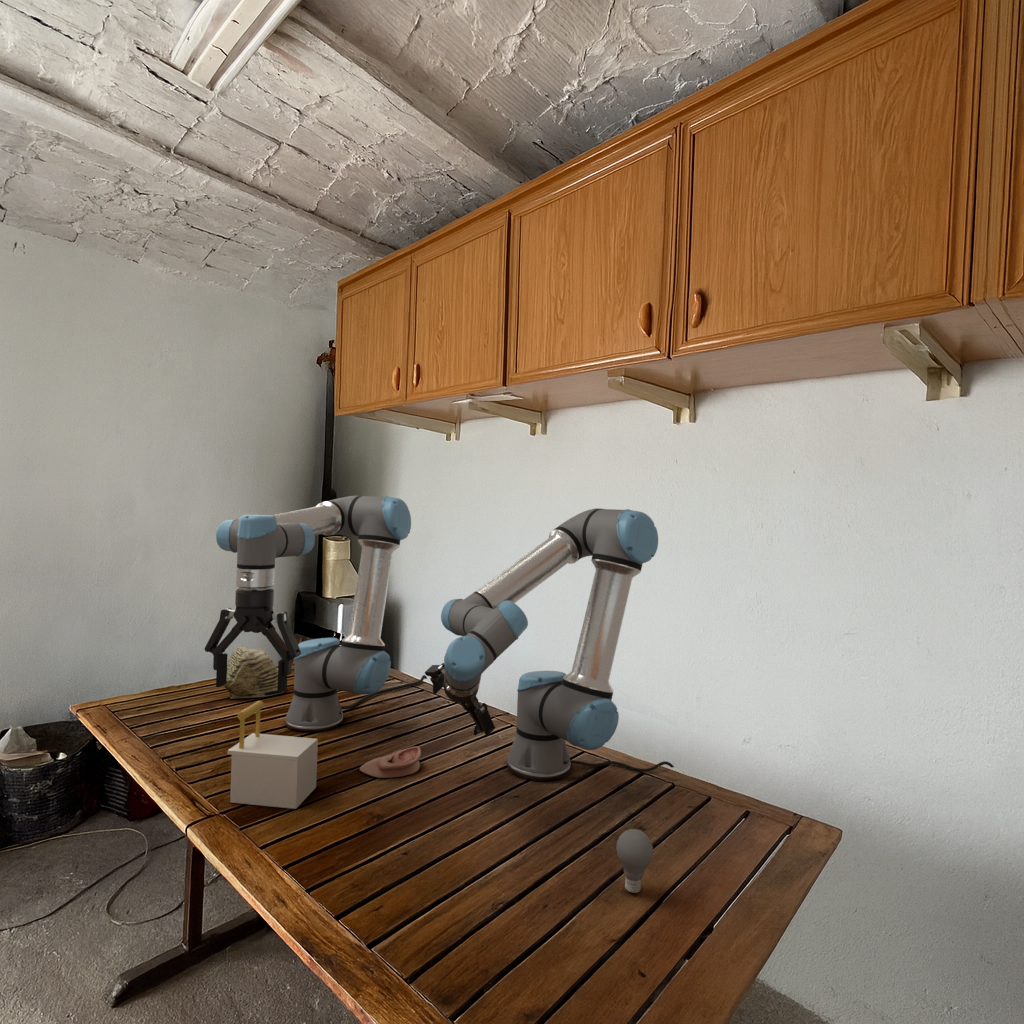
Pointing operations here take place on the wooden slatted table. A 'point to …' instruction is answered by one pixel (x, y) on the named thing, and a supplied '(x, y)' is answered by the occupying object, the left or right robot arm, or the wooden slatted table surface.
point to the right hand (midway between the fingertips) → (458, 709)
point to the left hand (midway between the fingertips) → (251, 687)
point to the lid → (268, 741)
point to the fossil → (251, 674)
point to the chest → (273, 780)
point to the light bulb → (634, 857)
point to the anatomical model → (394, 764)
